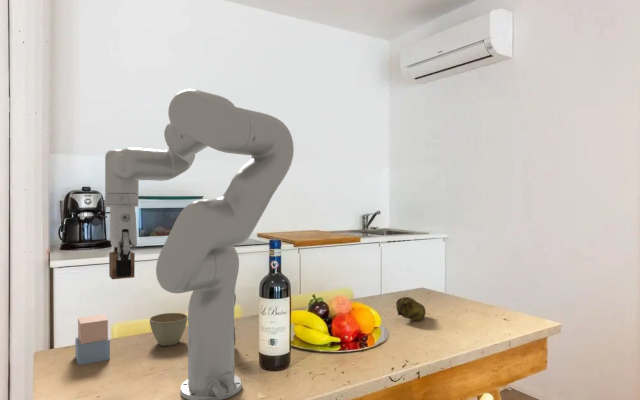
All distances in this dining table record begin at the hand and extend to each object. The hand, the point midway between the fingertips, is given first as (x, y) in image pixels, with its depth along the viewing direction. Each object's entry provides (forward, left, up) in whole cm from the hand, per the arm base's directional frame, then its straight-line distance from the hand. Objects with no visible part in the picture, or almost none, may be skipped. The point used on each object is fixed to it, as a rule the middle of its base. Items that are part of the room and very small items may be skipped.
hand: (121, 273), depth 110 cm
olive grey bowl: (+7, -13, -22) cm, 27 cm away
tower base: (+6, +6, -22) cm, 23 cm away
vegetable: (-6, -25, -22) cm, 34 cm away
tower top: (+6, +6, -17) cm, 19 cm away
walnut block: (0, 0, -1) cm, 1 cm away
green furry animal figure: (-12, -86, -22) cm, 90 cm away
